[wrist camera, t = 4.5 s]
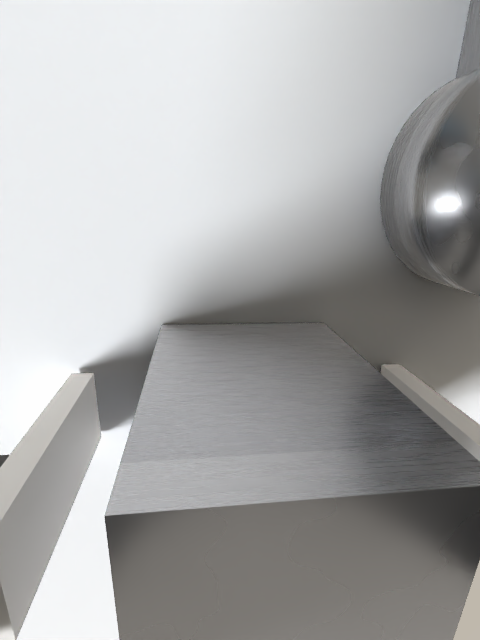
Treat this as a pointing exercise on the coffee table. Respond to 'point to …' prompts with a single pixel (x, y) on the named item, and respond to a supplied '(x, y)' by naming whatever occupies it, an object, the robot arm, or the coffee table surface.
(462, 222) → the ratchet
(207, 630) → the grey metal block
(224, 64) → the coffee table surface
